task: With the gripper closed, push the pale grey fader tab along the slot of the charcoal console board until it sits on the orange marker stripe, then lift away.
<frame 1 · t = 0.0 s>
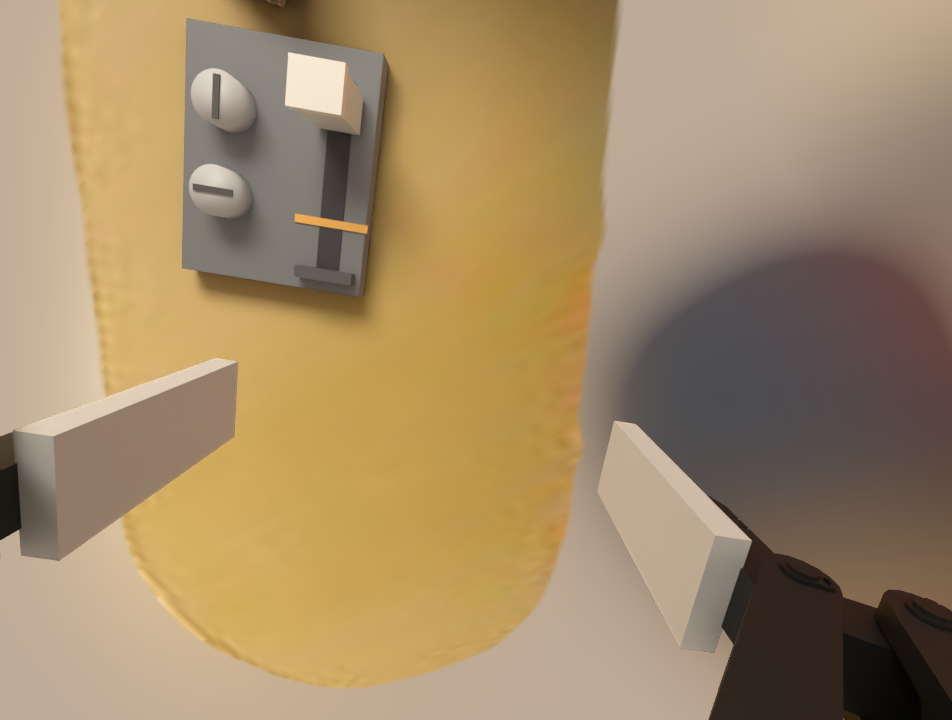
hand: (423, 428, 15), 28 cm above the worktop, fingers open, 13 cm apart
fader tab: (328, 99, 34), point 5 cm above the worktop, slide at 0.0 cm
console: (287, 171, 40), on the worktop
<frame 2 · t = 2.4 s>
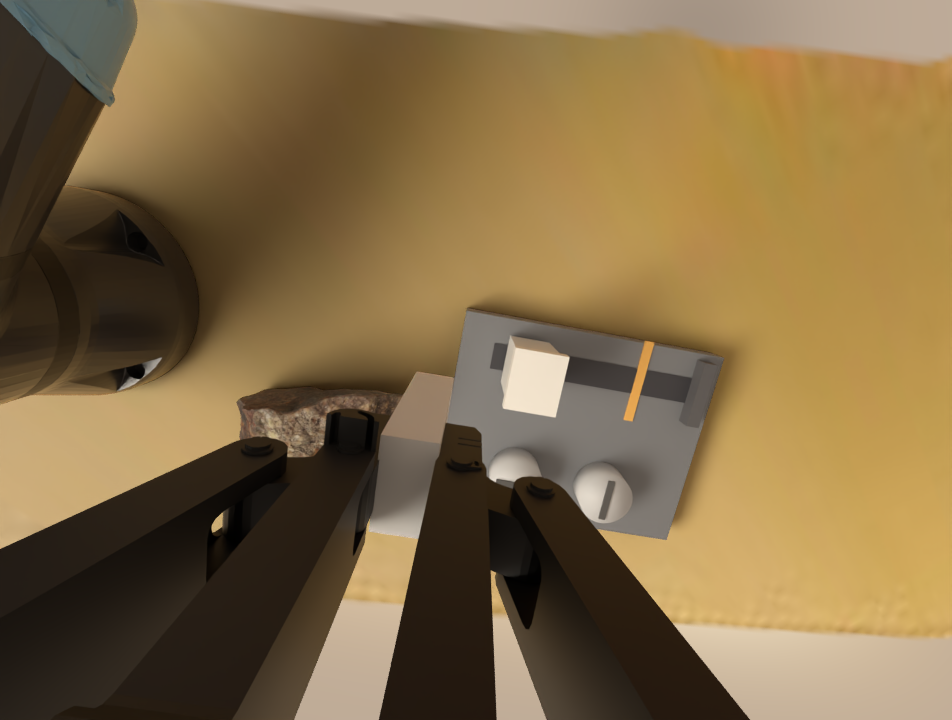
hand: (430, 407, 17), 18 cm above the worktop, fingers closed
fader tab: (529, 371, 30), point 5 cm above the worktop, slide at 0.0 cm
console: (567, 423, 37), on the worktop
rock: (329, 422, 37), on the worktop
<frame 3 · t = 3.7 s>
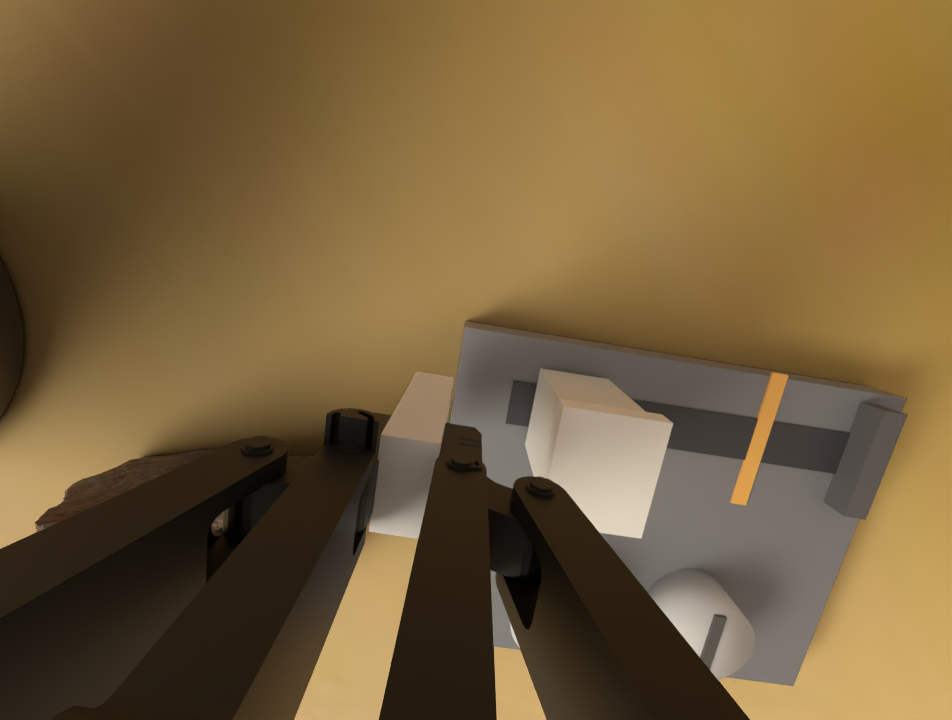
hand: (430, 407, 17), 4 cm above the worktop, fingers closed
fader tab: (581, 438, 16), point 5 cm above the worktop, slide at 0.0 cm
console: (630, 502, 23), on the worktop
rock: (245, 502, 23), on the worktop
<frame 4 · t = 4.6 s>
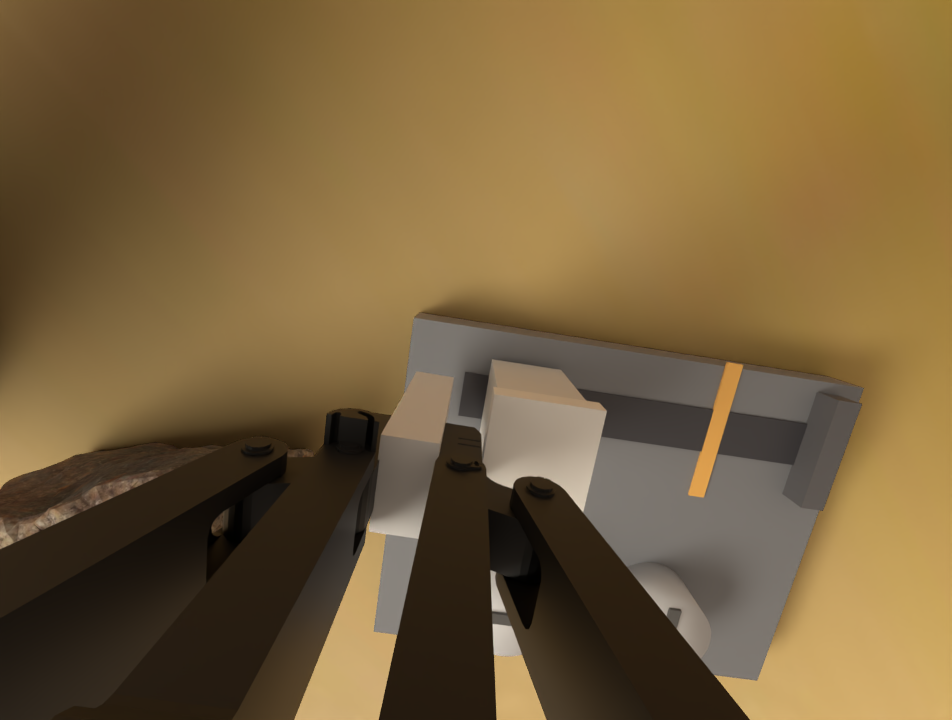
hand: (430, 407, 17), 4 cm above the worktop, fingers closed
fader tab: (527, 429, 16), point 5 cm above the worktop, slide at 0.1 cm, touching gripper
console: (591, 495, 23), on the worktop
rock: (197, 495, 23), on the worktop
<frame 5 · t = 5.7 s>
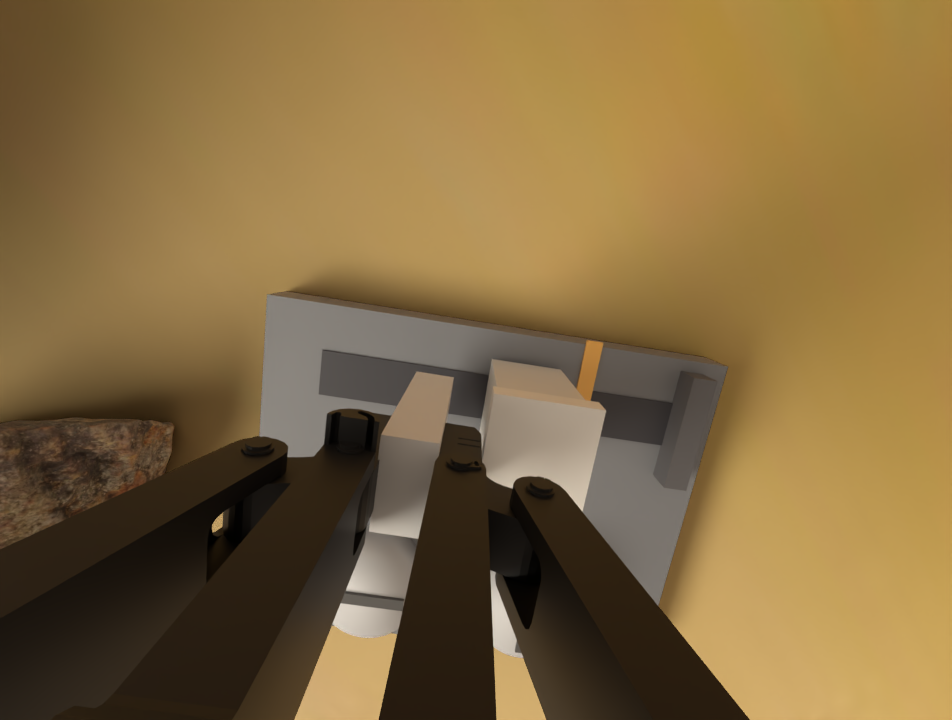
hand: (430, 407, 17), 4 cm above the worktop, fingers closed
fader tab: (526, 428, 16), point 5 cm above the worktop, slide at 6.2 cm, touching gripper
console: (473, 478, 22), on the worktop
rock: (70, 474, 23), on the worktop
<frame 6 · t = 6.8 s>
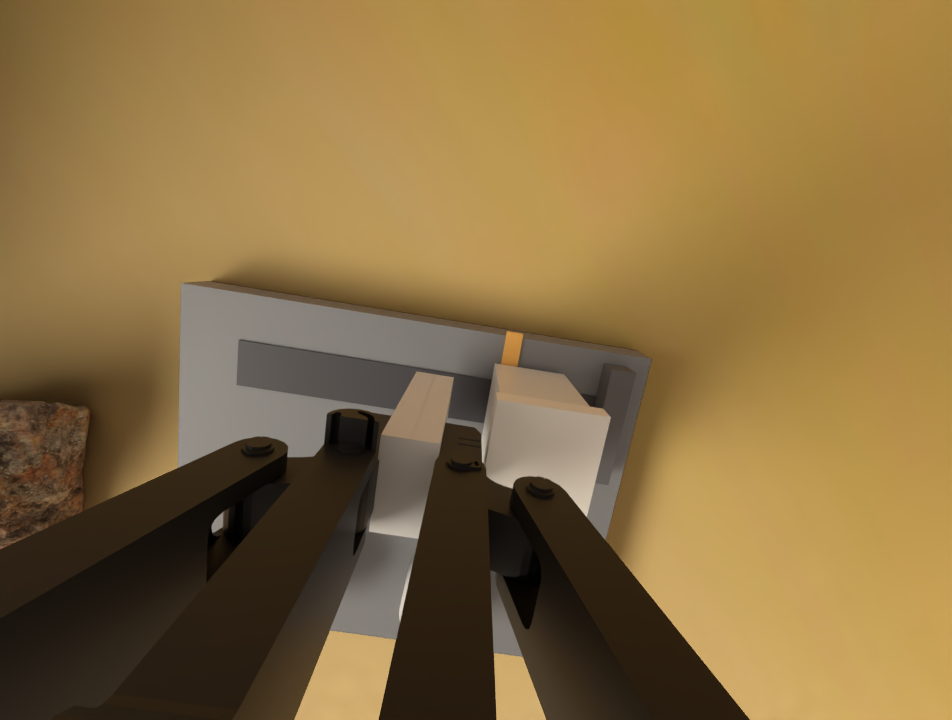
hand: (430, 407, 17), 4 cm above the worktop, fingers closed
fader tab: (529, 434, 16), point 5 cm above the worktop, slide at 9.9 cm, touching gripper
console: (404, 472, 22), on the worktop
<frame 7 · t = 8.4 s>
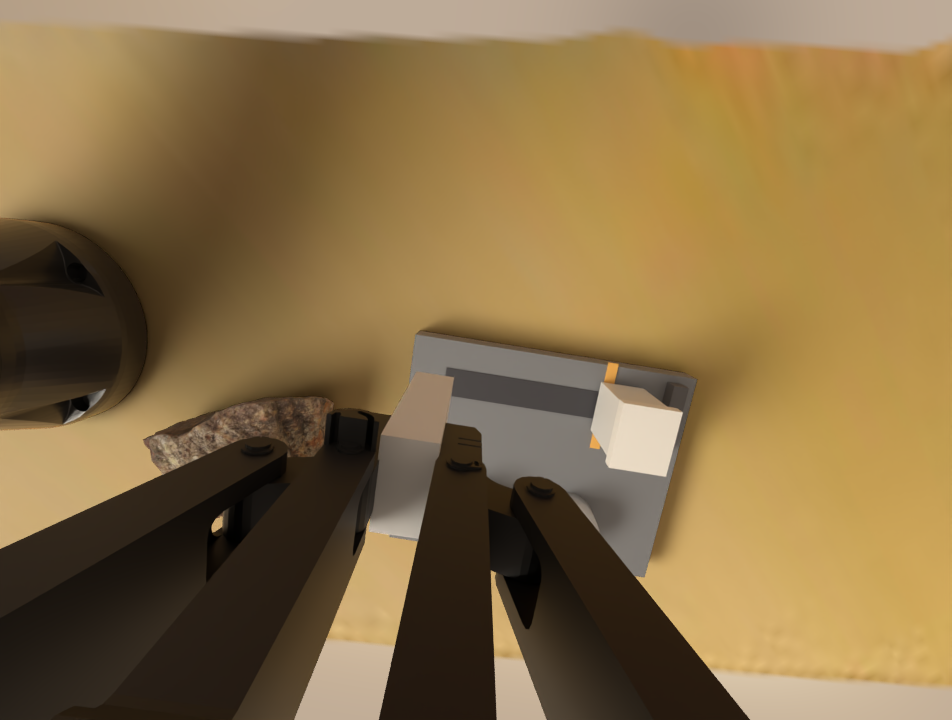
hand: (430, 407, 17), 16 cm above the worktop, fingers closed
fader tab: (629, 423, 28), point 5 cm above the worktop, slide at 9.9 cm
console: (533, 451, 34), on the worktop
rock: (263, 441, 35), on the worktop
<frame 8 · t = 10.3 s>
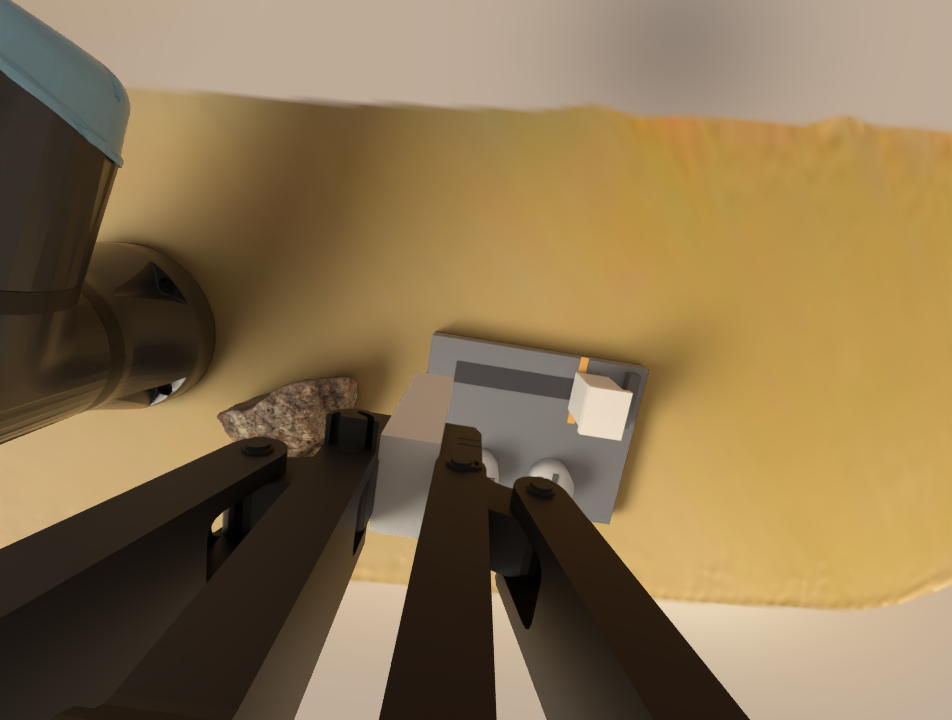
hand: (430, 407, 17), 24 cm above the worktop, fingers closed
fader tab: (596, 402, 37), point 5 cm above the worktop, slide at 9.9 cm
console: (523, 426, 43), on the worktop
rock: (301, 418, 44), on the worktop
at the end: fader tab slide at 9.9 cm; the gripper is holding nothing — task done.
